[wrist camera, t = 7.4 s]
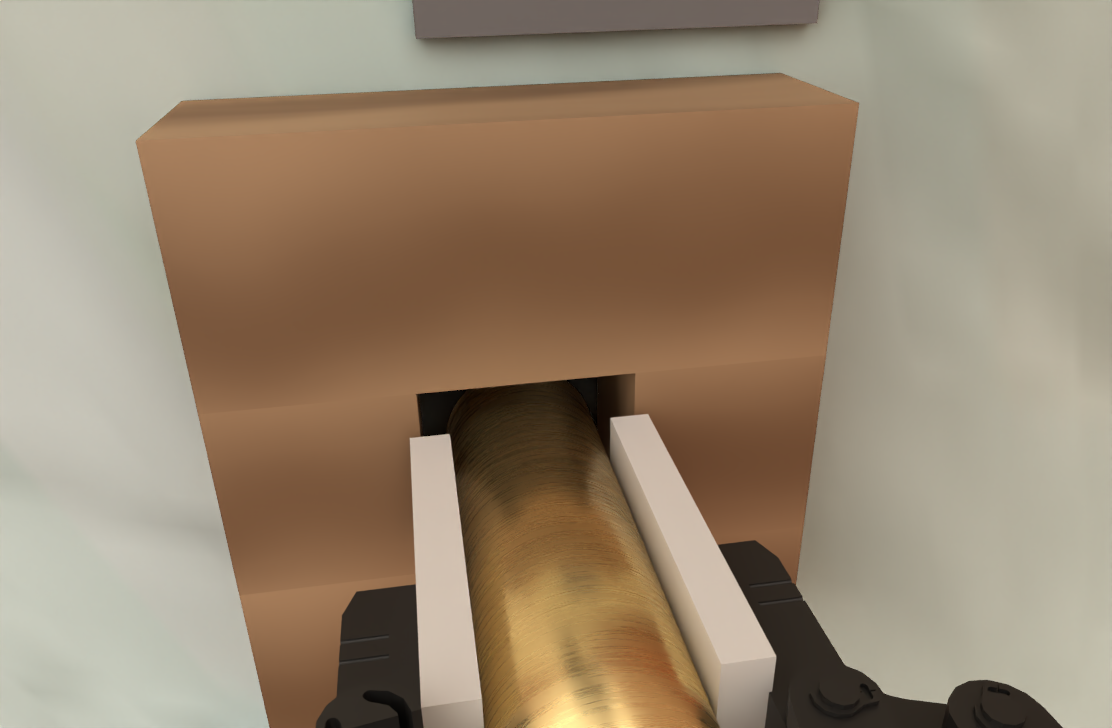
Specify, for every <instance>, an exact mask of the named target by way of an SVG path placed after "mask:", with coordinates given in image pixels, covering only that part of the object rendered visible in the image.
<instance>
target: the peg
mask: <svg viewBox="0 0 1112 728" xmlns="http://www.w3.org/2000/svg"><path fill="white" fill-rule="evenodd" d="M446 434H450V439H451V448H452V456H453V464H454V472H455V481H456V489H457V497H458V505H459V514H460V522H461V530H462V539H463V547H464V555H465V563H466V572H467V580H468V588H469V596H470V605H471V613H472V621H473V629H474V638H475V646H476V654H477V662H478V671H479V679H480V687H481V695H482V706H483V720H484V728H720V726H719V724H718V722H717V719H716V717H715V714H714V712H713V710H712V707H711V705H710V702H709V700H708V697H707V695H706V693H705V690H704V688H703V685H702V683H701V681H700V678H699V676H698V673H697V671H696V668H695V666H694V664H693V661H692V659H691V656H690V654H689V652H688V649H687V647H686V644H685V642H684V639H683V637H682V635H681V632H680V630H679V627H678V625H677V623H676V620H675V618H674V615H673V613H672V610H671V608H670V606H669V603H668V601H667V598H666V596H665V594H664V591H663V589H662V586H661V584H660V581H659V579H658V577H657V574H656V572H655V569H654V567H653V564H652V562H651V560H650V557H649V555H648V552H647V550H646V548H645V545H644V543H643V540H642V538H641V535H640V533H639V531H638V528H637V526H636V523H635V521H634V519H633V516H632V514H631V511H630V509H629V506H628V504H627V502H626V499H625V497H624V494H623V492H622V490H621V487H620V485H619V482H618V480H617V477H616V475H615V473H614V470H613V468H612V465H611V463H610V461H609V458H608V456H607V453H606V451H605V448H604V446H603V444H602V441H601V439H600V436H599V434H598V432H597V429H596V427H595V424H594V422H593V419H592V417H591V415H590V412H589V410H588V407H587V405H586V403H585V401H584V399H583V397H582V396H581V394H580V393H579V392H578V391H577V389H576V388H574V387H573V386H572V385H571V384H570V383H569V382H567V381H566V380H558V381H548V382H537V383H526V384H516V385H505V386H495V387H484V388H473V389H468V390H467V391H466V392H465V393H464V394H463V395H462V397H461V398H460V399H459V400H458V402H457V403H456V405H455V406H454V408H453V410H452V412H451V415H450V417H449V421H448V424H447V430H446Z"/></svg>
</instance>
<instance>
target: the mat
mask: <svg viewBox="0 0 1112 728" xmlns="http://www.w3.org/2000/svg"><path fill="white" fill-rule="evenodd" d="M818 9H819V0H413V12H414V24H415V35H416V39H421V38H447V37H473V36H499V35H525V34H551V33H577V32H603V31H629V30H655V29H681V28H707V27H733V26H759V25H785V24H811V23H817V19H818Z"/></svg>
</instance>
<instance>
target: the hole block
mask: <svg viewBox="0 0 1112 728" xmlns="http://www.w3.org/2000/svg"><path fill="white" fill-rule="evenodd" d="M858 108H859V103H857V102H855V101H852V100H850V99H847V98H844V97H842V96H839V95H837V94H834V93H831V92H829V91H826V90H824V89H821V88H818V87H816V86H813V85H811V84H808V83H805V82H803V81H800V80H798V79H795V78H792V77H790V76H787V75H785V74H782V73H772V74H751V75H729V76H708V77H687V78H665V79H644V80H622V81H601V82H579V83H558V84H536V85H515V86H493V87H472V88H450V89H429V90H407V91H386V92H364V93H343V94H321V95H300V96H278V97H257V98H235V99H214V100H193V101H181V102H180V103H179V104H178V105H177V106H176V107H174V108H173V109H172V110H171V111H170V112H169V113H167V114H166V115H165V116H164V117H163V118H162V119H160V120H159V121H158V122H157V123H156V124H155V125H154V126H152V127H151V128H150V129H149V130H148V131H147V132H145V133H144V134H143V135H142V136H141V137H140V138H138V139H137V140H136V145H137V149H138V153H139V158H140V162H141V166H142V171H143V175H144V180H145V184H146V188H147V193H148V197H149V201H150V206H151V210H152V215H153V219H154V223H155V228H156V232H157V236H158V241H159V245H160V250H161V254H162V258H163V263H164V267H165V271H166V276H167V280H168V285H169V289H170V293H171V298H172V302H173V307H174V311H175V315H176V320H177V324H178V328H179V333H180V337H181V342H182V346H183V350H184V355H185V359H186V363H187V368H188V372H189V377H190V381H191V385H192V390H193V394H194V398H195V403H196V407H197V412H198V416H199V420H200V425H201V429H202V433H203V438H204V442H205V447H206V451H207V455H208V460H209V464H210V468H211V473H212V477H213V482H214V486H215V490H216V495H217V499H218V504H219V508H220V512H221V517H222V521H223V525H224V530H225V534H226V539H227V543H228V547H229V552H230V556H231V560H232V565H233V569H234V574H235V578H236V582H237V587H238V591H239V595H240V600H241V604H242V609H243V613H244V617H245V622H246V626H247V630H248V635H249V639H250V644H251V648H252V652H253V657H254V661H255V665H256V670H257V674H258V679H259V683H260V687H261V692H262V696H263V701H264V705H265V709H266V714H267V718H268V722H269V727H270V728H316V721H317V719H318V718H319V716H320V715H321V713H322V711H323V710H324V708H325V707H326V705H327V704H329V703H330V702H331V701H332V700H334V699H335V698H336V696H337V681H338V666H339V651H340V636H341V621H342V614H343V613H344V611H345V609H346V608H347V606H348V605H349V603H350V601H351V600H352V598H353V596H354V595H355V593H356V592H357V591H365V590H373V589H381V588H389V587H397V586H405V585H413V584H416V574H415V550H414V527H413V503H412V479H411V455H410V438H415V437H423V427H422V417H421V407H420V397H419V394H420V393H431V392H442V391H452V390H463V389H473V388H484V387H495V386H505V385H516V384H526V383H537V382H548V381H558V380H569V379H579V378H590V377H598V389H597V432H598V434H599V436H600V439H601V441H602V444H603V446H604V448H605V451H606V453H607V456H608V458H609V461H610V418H613V417H622V416H632V415H642V414H648V415H649V417H650V419H651V421H652V423H653V424H654V426H655V428H656V430H657V432H658V434H659V436H660V438H661V439H662V441H663V443H664V445H665V447H666V449H667V451H668V453H669V455H670V456H671V458H672V460H673V462H674V464H675V466H676V468H677V470H678V472H679V473H680V475H681V477H682V479H683V481H684V483H685V485H686V487H687V489H688V490H689V492H690V494H691V496H692V498H693V500H694V502H695V504H696V506H697V507H698V509H699V511H700V513H701V515H702V517H703V519H704V521H705V523H706V524H707V526H708V528H709V530H710V532H711V534H712V536H713V538H714V540H715V541H716V543H717V545H719V544H727V543H735V542H743V541H751V540H756V541H757V542H758V543H760V544H761V545H762V546H764V547H765V548H766V549H768V550H769V551H770V552H772V553H773V554H774V555H776V556H777V557H778V558H779V559H780V561H781V563H782V564H783V566H784V568H785V569H786V571H787V572H788V574H789V576H790V577H791V580H792V583H794V584H795V585H796V579H797V571H798V564H799V556H800V549H801V541H802V533H803V526H804V518H805V511H806V503H807V495H808V488H809V480H810V473H811V465H812V457H813V450H814V442H815V435H816V427H817V419H818V412H819V404H820V396H821V389H822V381H823V374H824V366H825V358H826V351H827V343H828V336H829V328H830V320H831V313H832V305H833V298H834V290H835V282H836V275H837V267H838V260H839V252H840V244H841V237H842V229H843V222H844V214H845V206H846V199H847V191H848V184H849V176H850V168H851V161H852V153H853V146H854V138H855V130H856V123H857V115H858Z"/></svg>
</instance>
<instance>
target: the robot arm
mask: <svg viewBox="0 0 1112 728" xmlns="http://www.w3.org/2000/svg"><path fill="white" fill-rule="evenodd" d="M410 455H411V479H412V503H413V527H414V550H415V574H416V584H413V585H405V586H397V587H389V588H381V589H373V590H365V591H357V592H356V593H355V595H354V596H353V598H352V600H351V601H350V603H349V605H348V606H347V608H346V609H345V611H344V613H343V614H342V621H341V636H340V651H339V666H338V681H337V696H336V698H335V699H334V700H332V701H331V702H330V703H329V704H327V705H326V707H325V708H324V710H323V711H322V713H321V715H320V716H319V718H318V719H317V721H316V728H484V720H483V706H482V695H481V687H480V679H479V671H478V662H477V654H476V646H475V638H474V629H473V621H472V613H471V605H470V596H469V588H468V580H467V572H466V563H465V555H464V547H463V539H462V530H461V522H460V514H459V505H458V497H457V489H456V481H455V472H454V464H453V456H452V448H451V439H450V434H445V435H435V436H425V437H415V438H410ZM610 463H611V465H612V468H613V470H614V473H615V475H616V477H617V480H618V482H619V485H620V487H621V490H622V492H623V494H624V497H625V499H626V502H627V504H628V506H629V509H630V511H631V514H632V516H633V519H634V521H635V523H636V526H637V528H638V531H639V533H640V535H641V538H642V540H643V543H644V545H645V548H646V550H647V552H648V555H649V557H650V560H651V562H652V564H653V567H654V569H655V572H656V574H657V577H658V579H659V581H660V584H661V586H662V589H663V591H664V594H665V596H666V598H667V601H668V603H669V606H670V608H671V610H672V613H673V615H674V618H675V620H676V623H677V625H678V627H679V630H680V632H681V635H682V637H683V639H684V642H685V644H686V647H687V649H688V652H689V654H690V656H691V659H692V661H693V664H694V666H695V668H696V671H697V673H698V676H699V678H700V681H701V683H702V685H703V688H704V690H705V693H706V695H707V697H708V700H709V702H710V705H711V707H712V710H713V712H714V714H715V717H716V719H717V722H718V724H719V726H720V728H1063V727H1062V726H1061V725H1060V724H1059V723H1058V722H1057V721H1056V720H1055V719H1054V718H1053V717H1052V716H1051V715H1050V714H1049V713H1048V712H1047V711H1046V709H1045V708H1044V707H1042V706H1041V705H1040V704H1039V703H1038V702H1036V701H1035V700H1034V699H1033V698H1031V697H1030V696H1029V695H1028V694H1026V693H1024V692H1022V691H1020V690H1018V689H1016V688H1014V687H1012V686H1009V685H1007V684H1003V683H998V682H994V681H989V680H978V681H968V682H966V683H964V684H962V685H960V686H957V687H956V688H955V689H954V691H953V692H952V694H951V695H950V697H949V699H948V703H947V704H940V703H932V702H924V701H916V700H908V699H902V698H898V697H893V696H889V695H887V694H884V693H883V692H882V691H881V689H880V688H879V687H878V685H877V684H876V683H875V682H874V681H873V680H871V679H870V678H869V677H867V676H866V675H865V674H863V673H862V672H860V671H858V670H855V669H853V668H850V667H848V666H845V665H844V663H843V662H842V660H841V659H840V657H839V655H838V654H837V652H836V650H835V649H834V647H833V646H832V644H831V642H830V641H829V639H828V637H827V636H826V634H825V633H824V631H823V629H822V628H821V626H820V624H819V623H818V621H817V620H816V618H815V616H814V615H813V613H812V611H811V610H810V608H809V607H808V605H807V603H806V602H805V601H803V599H802V595H801V594H800V592H799V590H798V589H797V587H796V585H795V584H794V583H792V580H791V577H790V576H789V574H788V572H787V571H786V569H785V568H784V566H783V564H782V563H781V561H780V559H779V558H778V557H777V556H776V555H774V554H773V553H772V552H770V551H769V550H768V549H766V548H765V547H764V546H762V545H761V544H760V543H758V542H757V541H756V540H751V541H743V542H735V543H727V544H719V545H717V543H716V541H715V540H714V538H713V536H712V534H711V532H710V530H709V528H708V526H707V524H706V523H705V521H704V519H703V517H702V515H701V513H700V511H699V509H698V507H697V506H696V504H695V502H694V500H693V498H692V496H691V494H690V492H689V490H688V489H687V487H686V485H685V483H684V481H683V479H682V477H681V475H680V473H679V472H678V470H677V468H676V466H675V464H674V462H673V460H672V458H671V456H670V455H669V453H668V451H667V449H666V447H665V445H664V443H663V441H662V439H661V438H660V436H659V434H658V432H657V430H656V428H655V426H654V424H653V423H652V421H651V419H650V417H649V415H648V414H642V415H632V416H622V417H613V418H610Z"/></svg>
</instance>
